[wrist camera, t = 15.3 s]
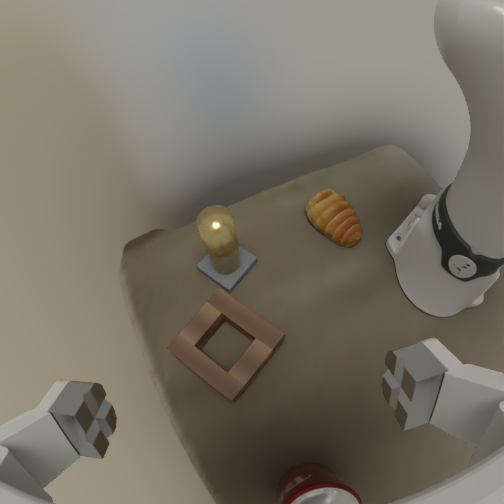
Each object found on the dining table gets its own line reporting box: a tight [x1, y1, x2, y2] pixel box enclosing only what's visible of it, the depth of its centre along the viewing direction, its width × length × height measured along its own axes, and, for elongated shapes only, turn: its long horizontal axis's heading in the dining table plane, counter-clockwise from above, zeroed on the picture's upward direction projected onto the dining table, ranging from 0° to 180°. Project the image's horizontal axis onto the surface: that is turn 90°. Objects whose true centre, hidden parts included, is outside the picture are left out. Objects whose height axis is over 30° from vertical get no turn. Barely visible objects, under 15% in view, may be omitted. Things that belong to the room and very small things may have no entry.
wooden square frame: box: [167, 288, 285, 402], centre depth 35 cm, size 10×10×3 cm
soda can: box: [277, 463, 362, 504], centre depth 22 cm, size 7×7×12 cm
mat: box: [196, 246, 257, 293], centre depth 42 cm, size 6×6×1 cm
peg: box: [197, 205, 241, 275], centre depth 37 cm, size 4×4×10 cm
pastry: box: [305, 189, 362, 247], centre depth 44 cm, size 9×7×4 cm
